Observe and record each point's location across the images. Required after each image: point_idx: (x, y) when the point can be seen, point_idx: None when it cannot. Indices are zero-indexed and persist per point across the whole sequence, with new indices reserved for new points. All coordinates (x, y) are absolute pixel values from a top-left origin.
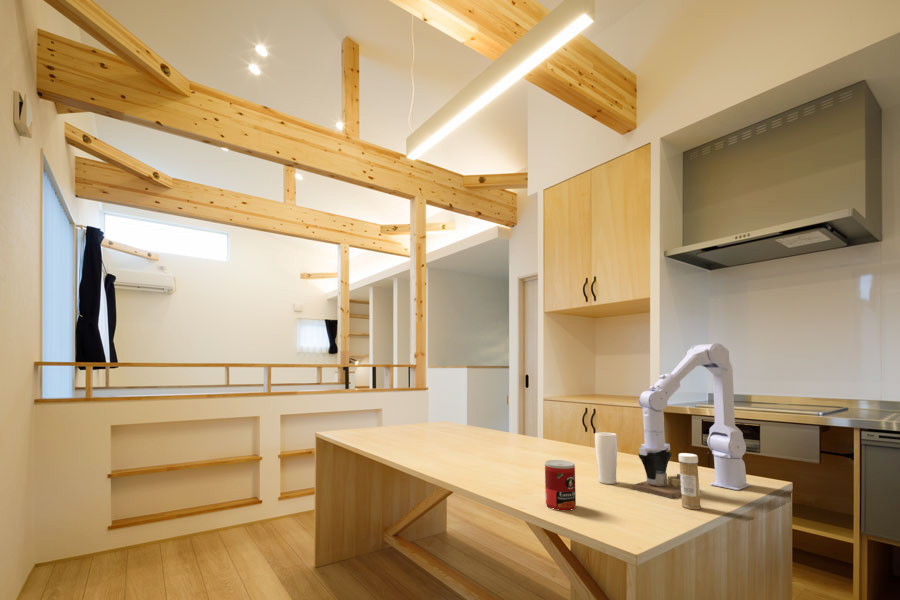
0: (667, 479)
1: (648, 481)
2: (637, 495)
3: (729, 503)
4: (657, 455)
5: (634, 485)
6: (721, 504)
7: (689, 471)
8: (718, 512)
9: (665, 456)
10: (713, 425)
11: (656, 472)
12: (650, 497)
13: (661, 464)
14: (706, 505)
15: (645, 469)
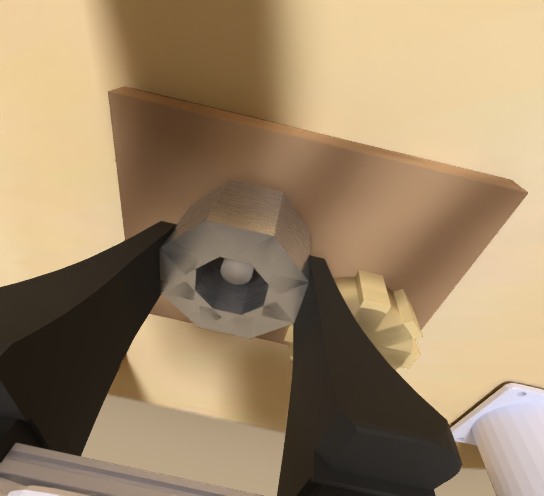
0: (470, 251)
1: (196, 205)
2: (35, 164)
3: (244, 408)
4: (311, 422)
5: (113, 113)
6: (214, 396)
7: None
8: (123, 390)
9: (284, 467)
10: None
11: (269, 276)
12: (71, 225)
13: (303, 355)
14: (164, 372)
15: (111, 251)
